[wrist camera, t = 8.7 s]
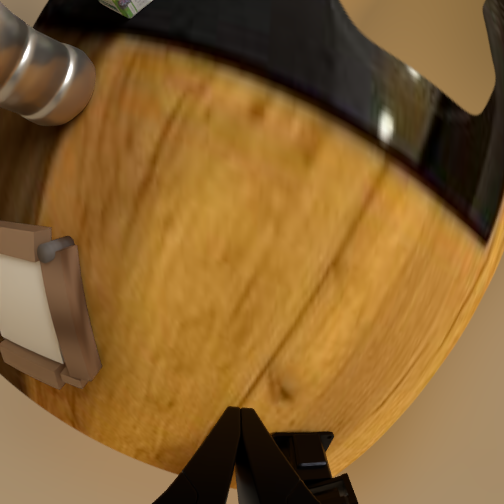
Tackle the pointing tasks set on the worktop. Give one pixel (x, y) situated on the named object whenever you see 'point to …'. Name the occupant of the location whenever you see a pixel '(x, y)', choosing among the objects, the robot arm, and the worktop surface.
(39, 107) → the silver metal bottle
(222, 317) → the worktop surface
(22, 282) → the seat
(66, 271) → the leg
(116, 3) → the syrup box
